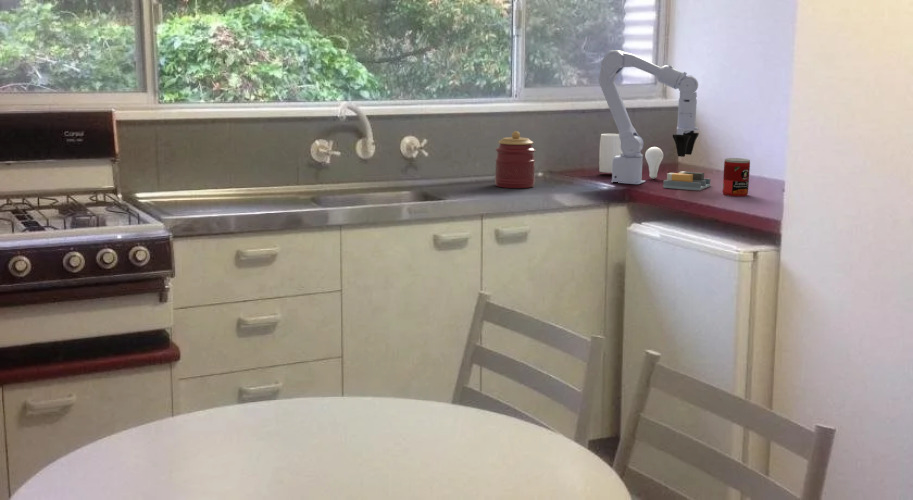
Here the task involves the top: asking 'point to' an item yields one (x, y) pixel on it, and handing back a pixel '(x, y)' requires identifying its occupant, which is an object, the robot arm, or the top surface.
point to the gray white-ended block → (695, 175)
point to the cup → (608, 151)
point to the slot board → (687, 184)
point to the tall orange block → (680, 177)
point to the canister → (515, 162)
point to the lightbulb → (654, 160)
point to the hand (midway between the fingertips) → (684, 155)
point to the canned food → (736, 176)
